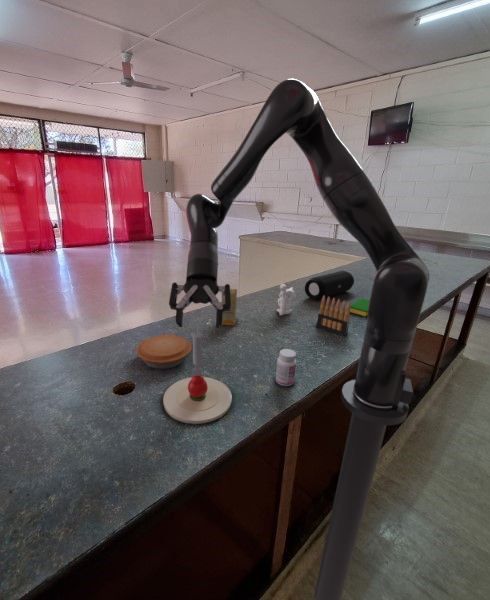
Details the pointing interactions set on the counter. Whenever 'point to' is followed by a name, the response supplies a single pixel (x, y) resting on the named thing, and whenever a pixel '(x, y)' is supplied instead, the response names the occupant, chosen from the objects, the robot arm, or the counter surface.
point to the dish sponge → (360, 307)
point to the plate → (197, 402)
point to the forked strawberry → (197, 372)
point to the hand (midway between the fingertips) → (198, 326)
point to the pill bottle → (286, 367)
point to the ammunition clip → (334, 316)
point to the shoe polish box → (230, 316)
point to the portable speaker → (329, 284)
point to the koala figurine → (285, 299)
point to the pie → (164, 351)
